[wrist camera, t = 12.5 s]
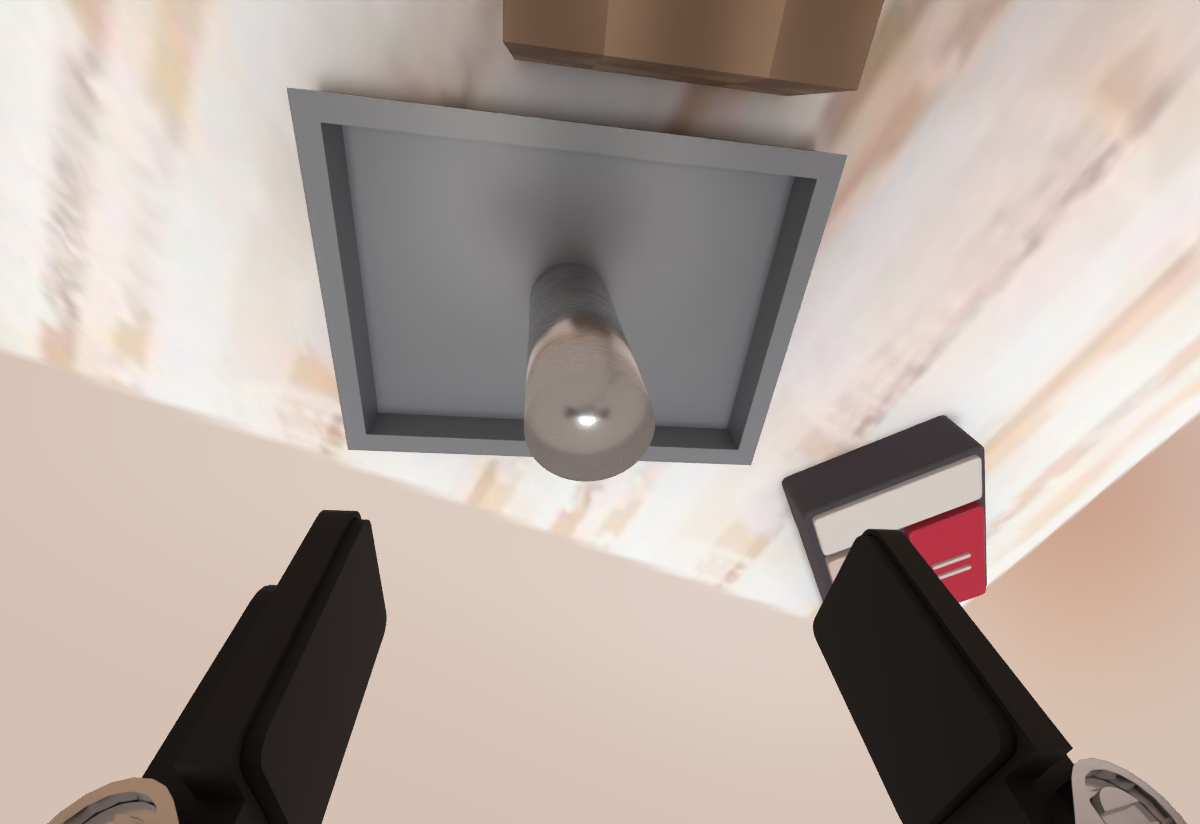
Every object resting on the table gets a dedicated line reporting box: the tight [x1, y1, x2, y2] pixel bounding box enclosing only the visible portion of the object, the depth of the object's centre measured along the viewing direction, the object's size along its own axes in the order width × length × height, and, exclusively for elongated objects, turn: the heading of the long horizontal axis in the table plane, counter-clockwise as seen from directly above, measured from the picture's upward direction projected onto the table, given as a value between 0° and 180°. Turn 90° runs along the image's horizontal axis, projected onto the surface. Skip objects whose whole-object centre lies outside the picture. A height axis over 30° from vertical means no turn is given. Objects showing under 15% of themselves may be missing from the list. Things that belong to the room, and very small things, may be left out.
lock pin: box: [524, 262, 655, 481], centre depth 21 cm, size 4×4×12 cm
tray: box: [287, 88, 847, 465], centre depth 25 cm, size 22×16×3 cm
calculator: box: [782, 416, 987, 603], centre depth 36 cm, size 11×4×15 cm
